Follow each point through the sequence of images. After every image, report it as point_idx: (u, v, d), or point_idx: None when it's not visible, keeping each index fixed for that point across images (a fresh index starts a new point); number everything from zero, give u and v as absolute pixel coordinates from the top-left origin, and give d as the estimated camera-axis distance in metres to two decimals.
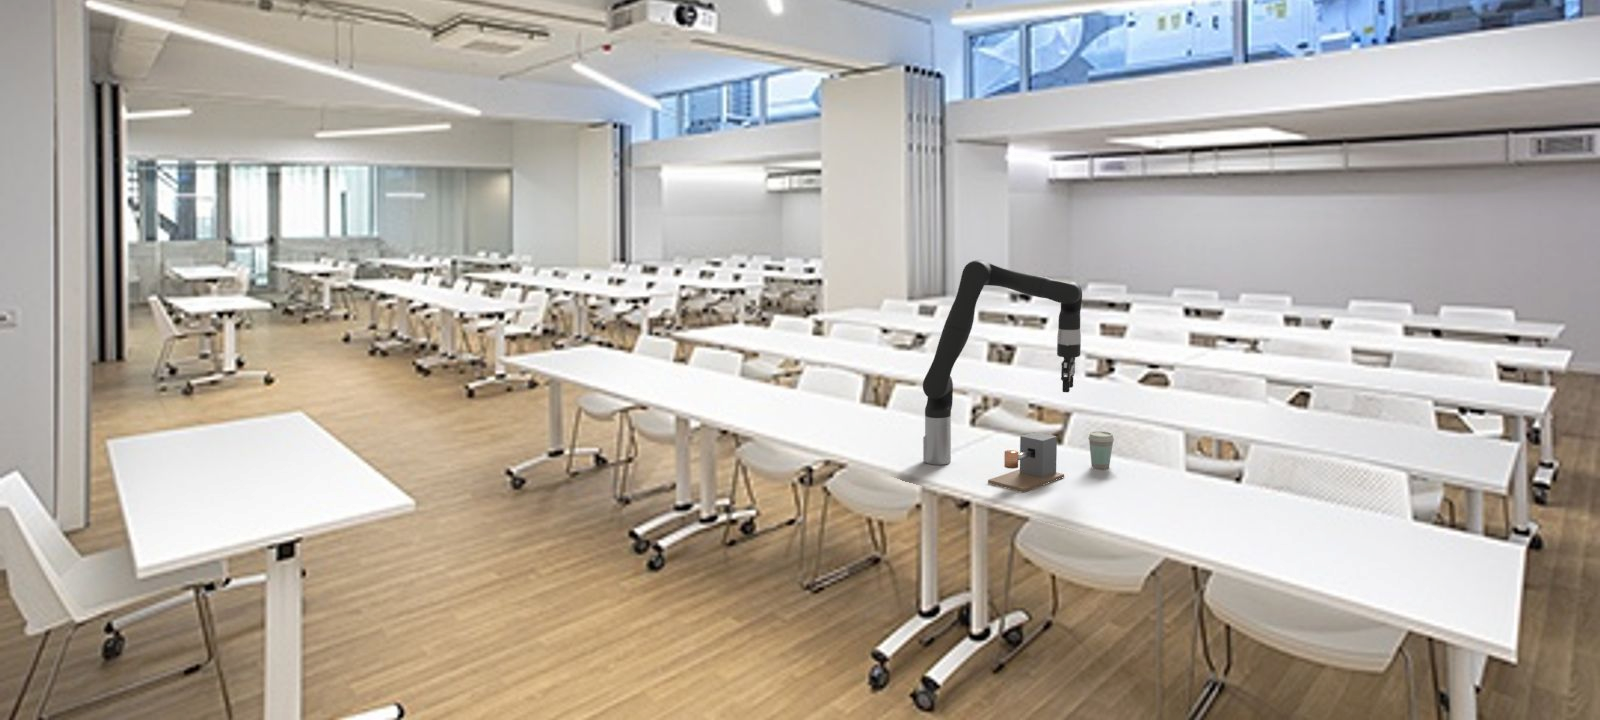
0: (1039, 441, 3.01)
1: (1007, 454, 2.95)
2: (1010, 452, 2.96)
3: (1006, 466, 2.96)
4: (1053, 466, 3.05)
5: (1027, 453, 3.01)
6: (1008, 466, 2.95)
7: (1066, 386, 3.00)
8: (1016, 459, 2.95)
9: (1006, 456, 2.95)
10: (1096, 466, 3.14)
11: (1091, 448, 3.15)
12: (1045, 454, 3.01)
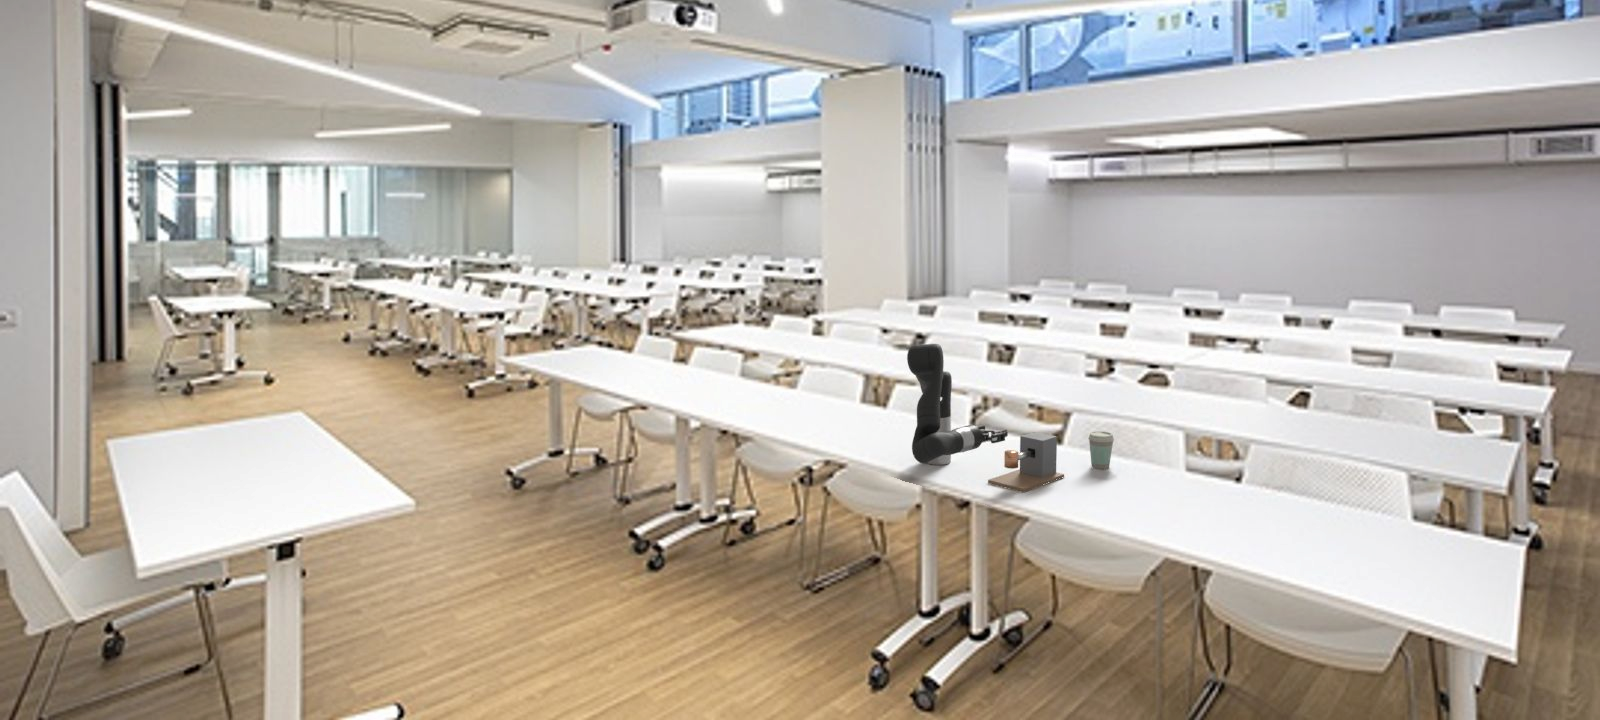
0: (1039, 441, 3.01)
1: (1007, 454, 2.95)
2: (1010, 452, 2.96)
3: (1006, 466, 2.96)
4: (1053, 466, 3.05)
5: (1027, 453, 3.01)
6: (1008, 466, 2.95)
7: None
8: (1016, 459, 2.95)
9: (1006, 456, 2.95)
10: (1096, 466, 3.14)
11: (1091, 448, 3.15)
12: (1045, 454, 3.01)
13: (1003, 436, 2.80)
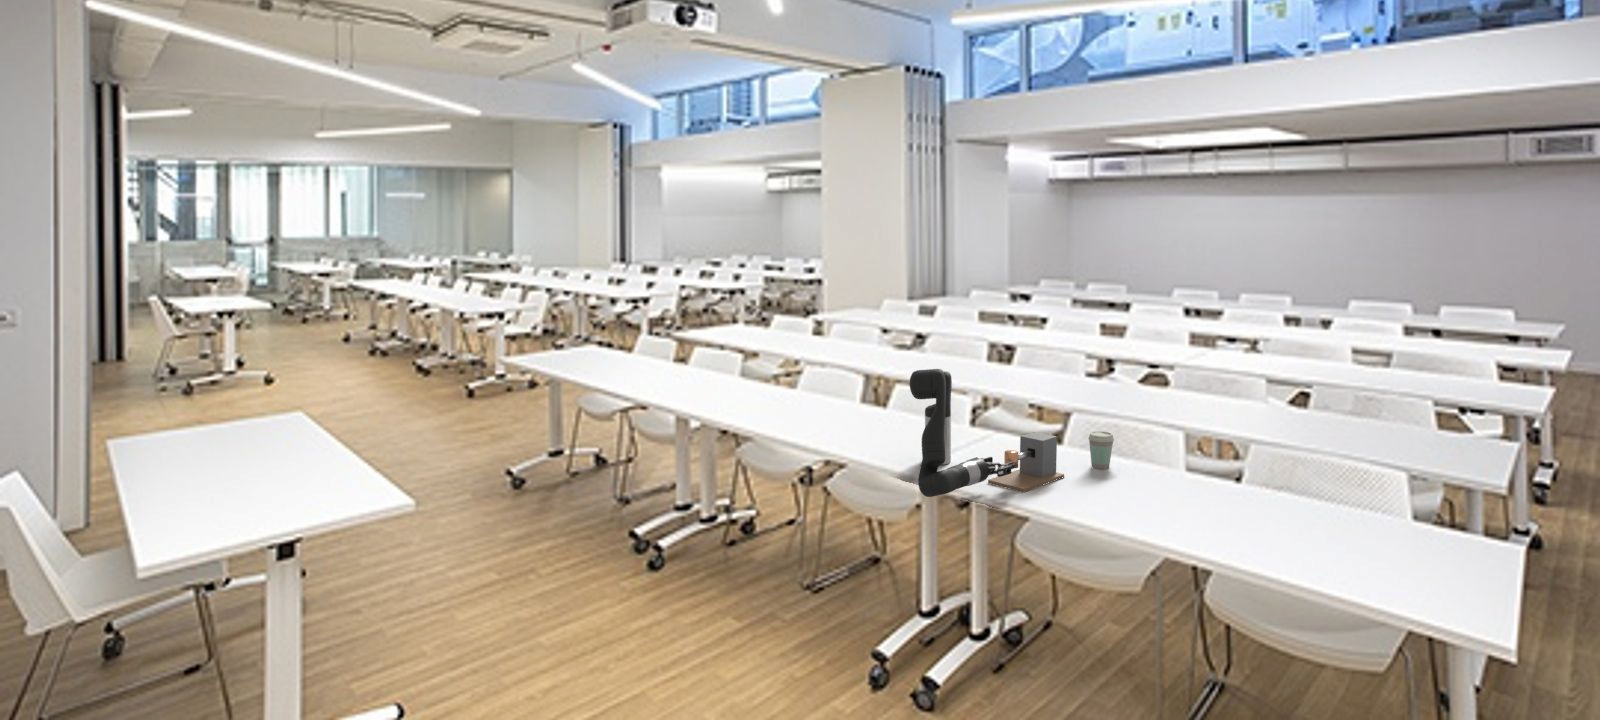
0: (1039, 441, 3.01)
1: (1007, 454, 2.95)
2: (1010, 452, 2.96)
3: None
4: (1053, 466, 3.05)
5: (1027, 453, 3.01)
6: None
7: None
8: (1016, 459, 2.95)
9: (1006, 456, 2.95)
10: (1096, 466, 3.14)
11: (1091, 448, 3.15)
12: (1045, 454, 3.01)
13: (1009, 469, 2.85)
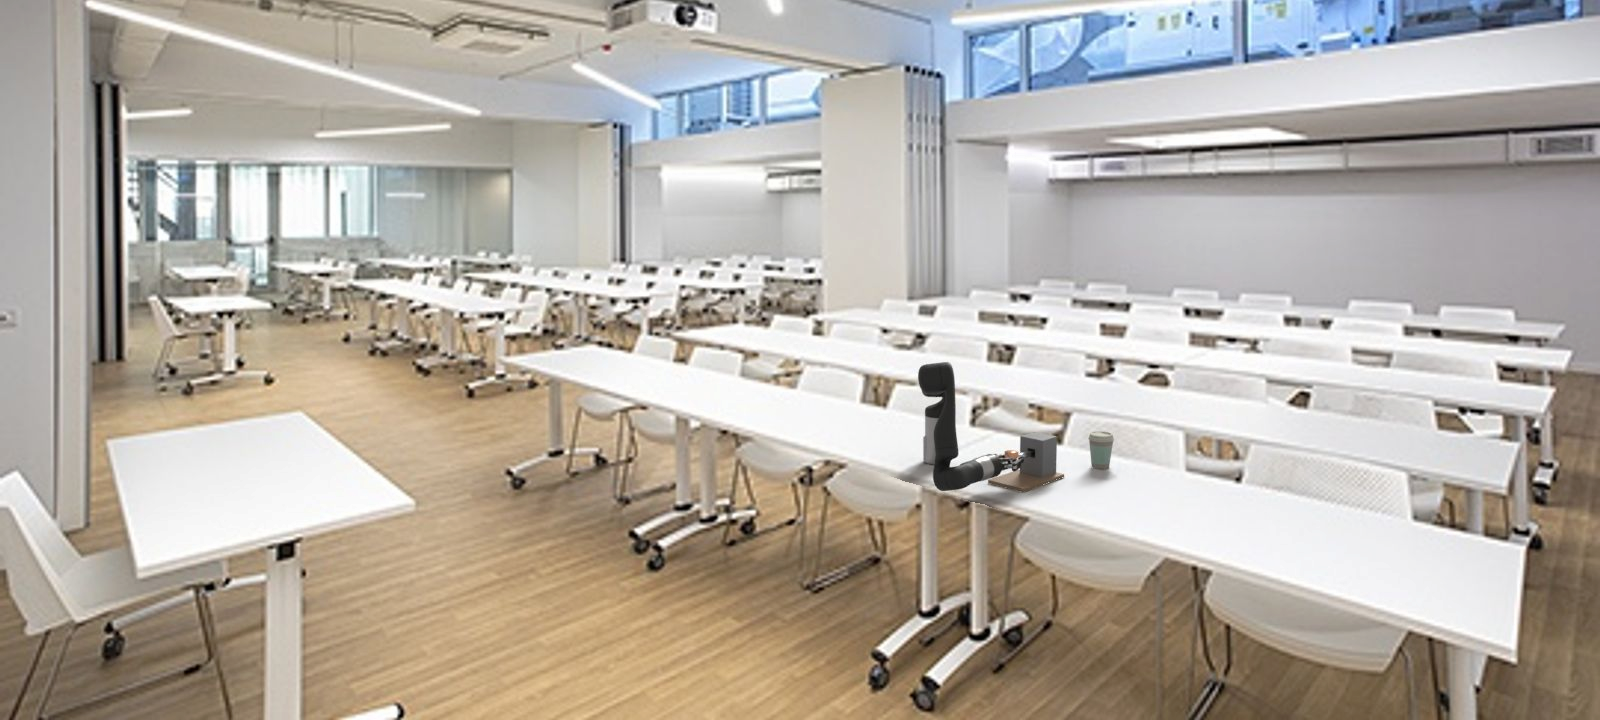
0: (1039, 441, 3.01)
1: (1007, 454, 2.95)
2: (1010, 452, 2.96)
3: None
4: (1053, 466, 3.05)
5: (1027, 453, 3.01)
6: None
7: None
8: None
9: (1006, 456, 2.95)
10: (1096, 466, 3.14)
11: (1091, 448, 3.15)
12: (1045, 454, 3.01)
13: (1019, 463, 2.91)
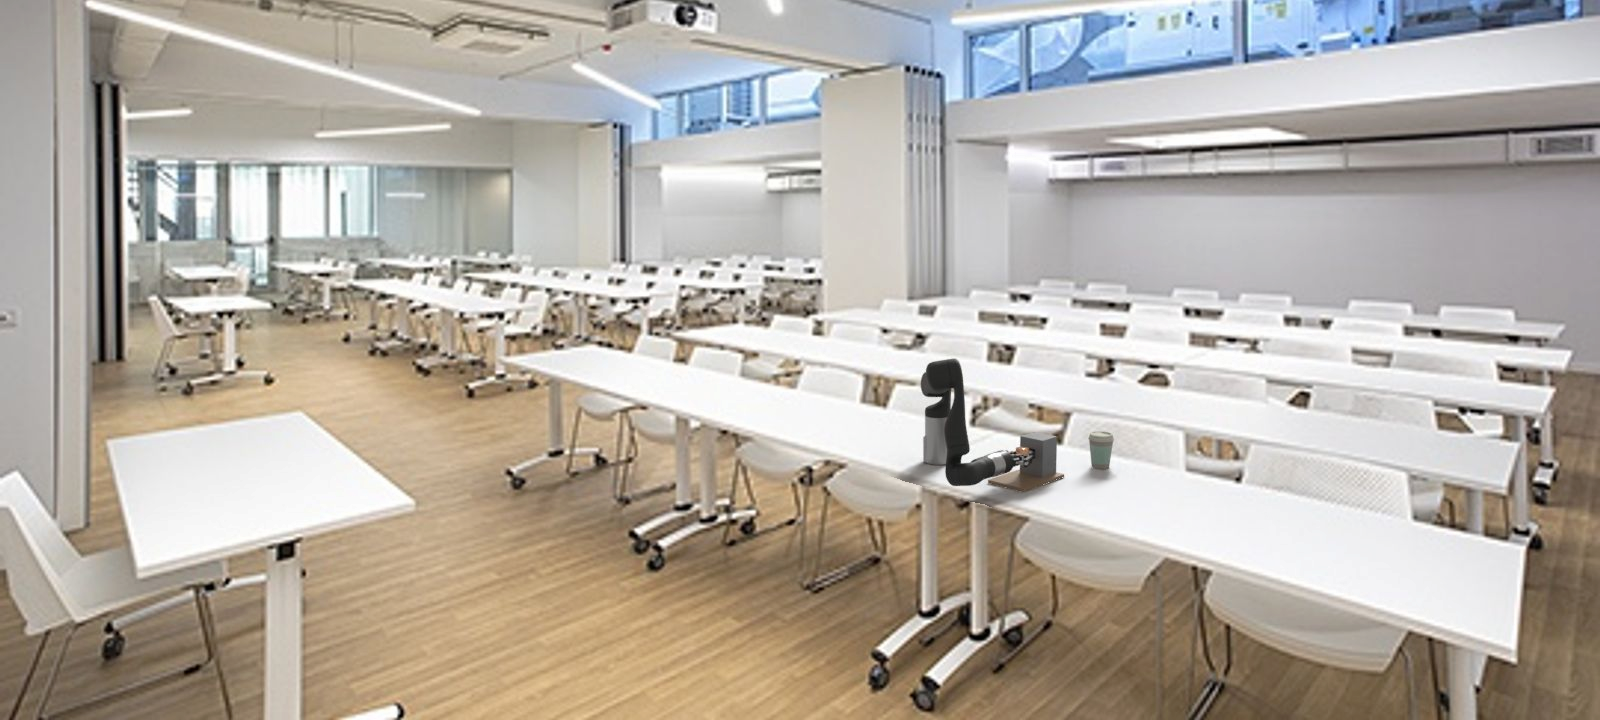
0: (1039, 441, 3.01)
1: (1018, 450, 2.99)
2: (1021, 448, 3.00)
3: None
4: (1053, 466, 3.05)
5: None
6: None
7: None
8: None
9: (1017, 452, 2.99)
10: (1096, 466, 3.14)
11: (1091, 448, 3.15)
12: (1045, 454, 3.01)
13: (1030, 459, 2.95)
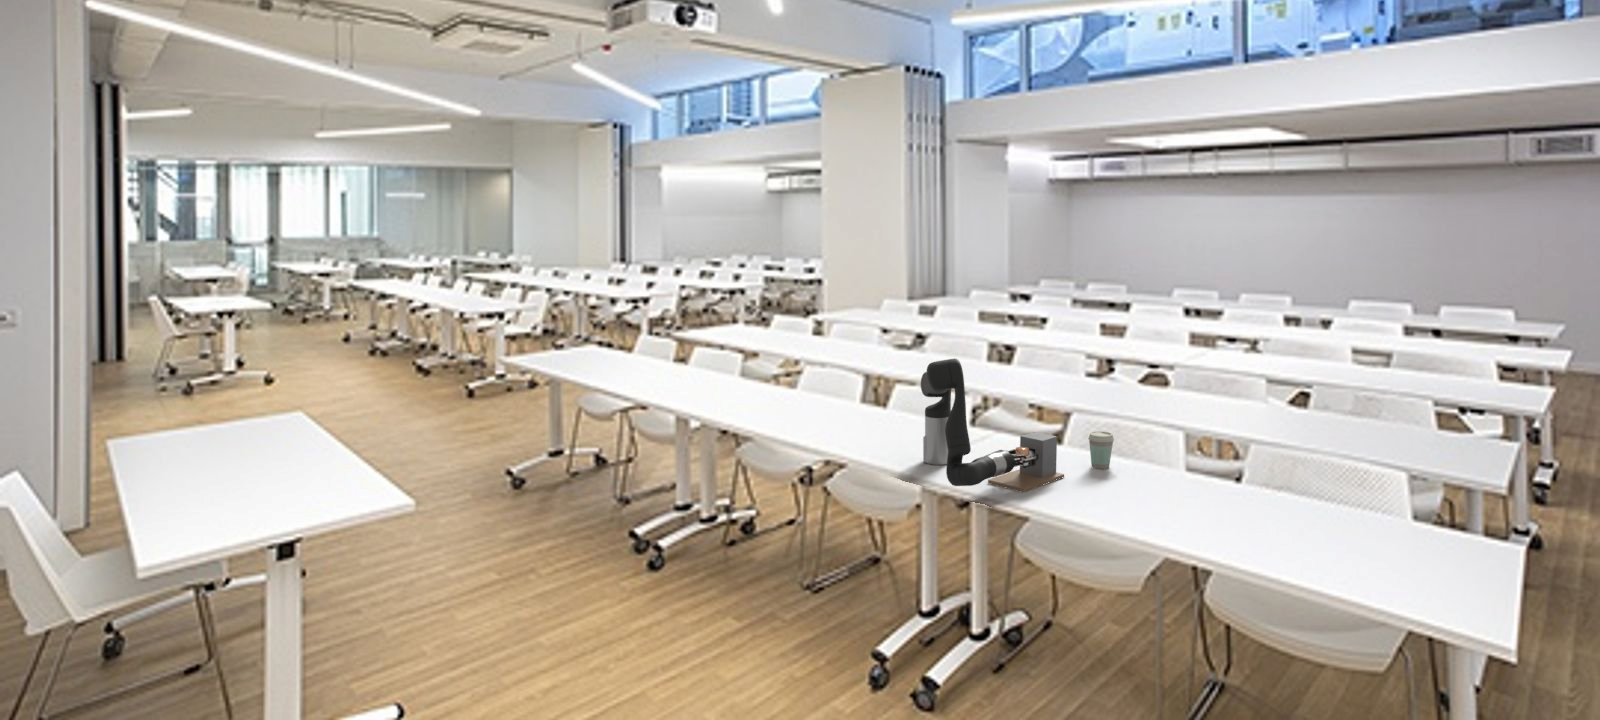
0: (1039, 441, 3.01)
1: (1018, 451, 2.99)
2: (1021, 448, 3.00)
3: None
4: (1053, 466, 3.05)
5: None
6: None
7: None
8: (1027, 455, 2.99)
9: (1017, 452, 2.99)
10: (1096, 466, 3.14)
11: (1091, 448, 3.15)
12: (1045, 454, 3.01)
13: (1034, 461, 2.93)
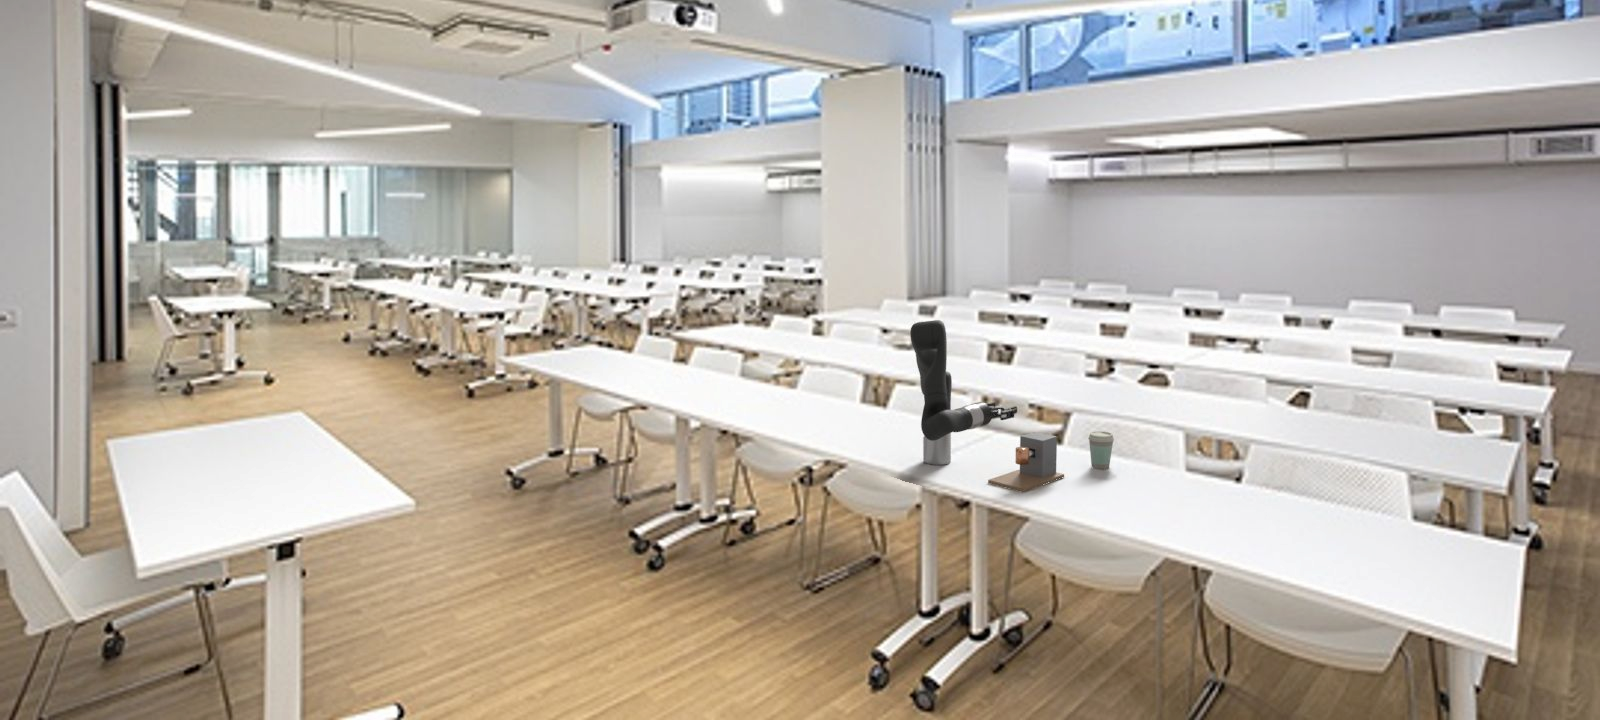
0: (1039, 441, 3.01)
1: (1018, 451, 2.99)
2: (1021, 448, 3.00)
3: (1017, 462, 3.00)
4: (1053, 466, 3.05)
5: None
6: (1019, 462, 2.99)
7: None
8: (1027, 455, 2.99)
9: (1017, 452, 2.99)
10: (1096, 466, 3.14)
11: (1091, 448, 3.15)
12: (1045, 454, 3.01)
13: (1012, 413, 2.83)
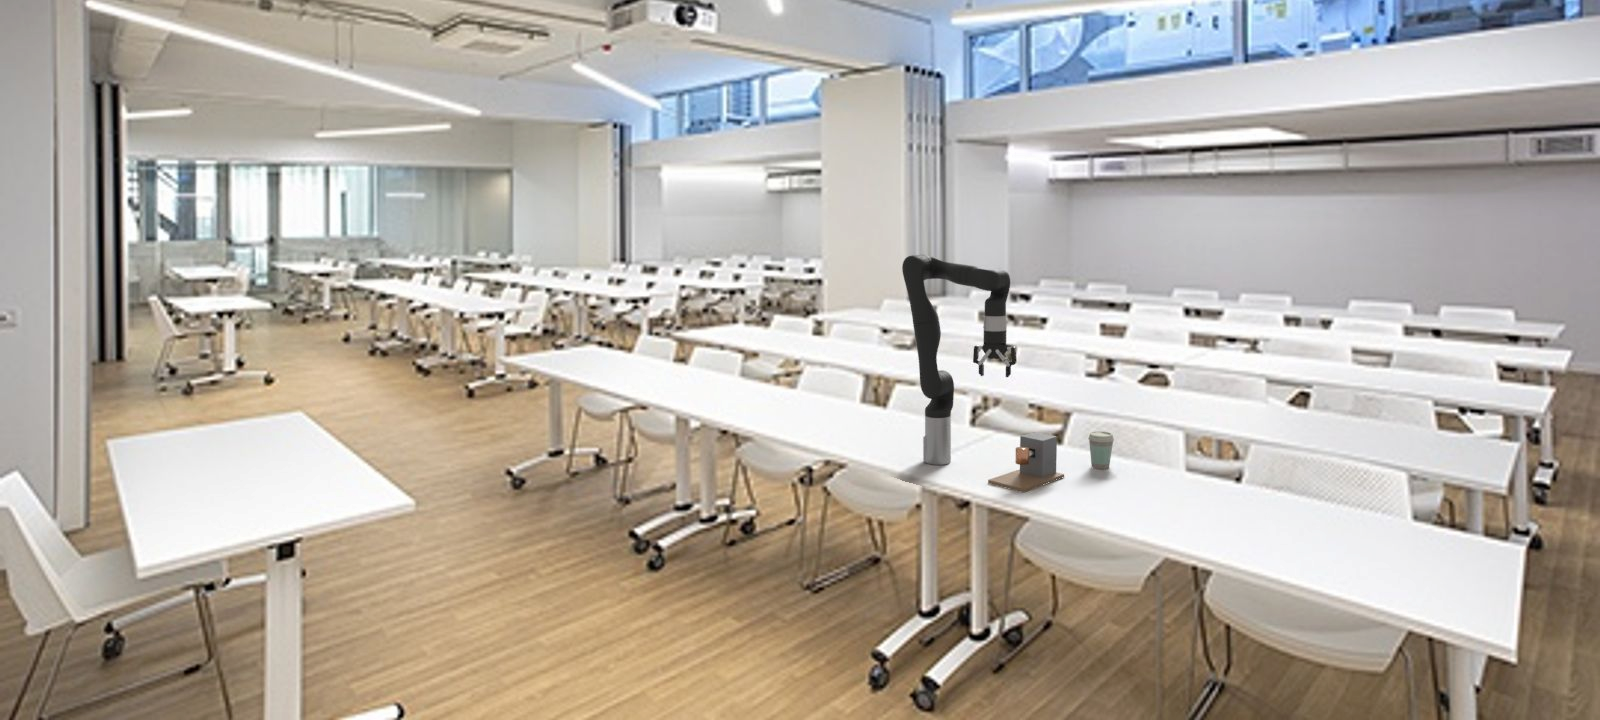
0: (1039, 441, 3.01)
1: (1018, 451, 2.99)
2: (1021, 448, 3.00)
3: (1017, 462, 3.00)
4: (1053, 466, 3.05)
5: None
6: (1019, 462, 2.99)
7: None
8: (1027, 455, 2.99)
9: (1017, 452, 2.99)
10: (1096, 466, 3.14)
11: (1091, 448, 3.15)
12: (1045, 454, 3.01)
13: (1015, 361, 3.03)
